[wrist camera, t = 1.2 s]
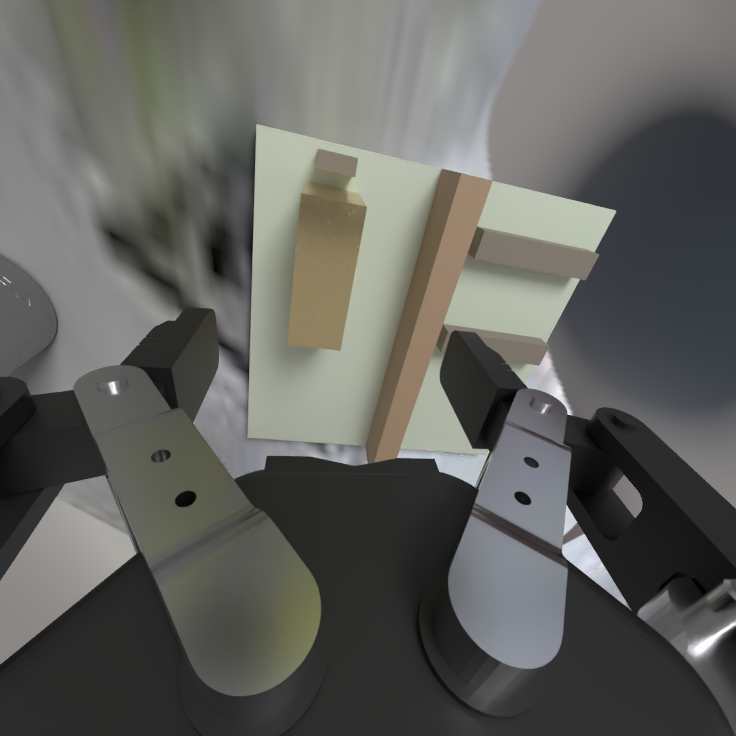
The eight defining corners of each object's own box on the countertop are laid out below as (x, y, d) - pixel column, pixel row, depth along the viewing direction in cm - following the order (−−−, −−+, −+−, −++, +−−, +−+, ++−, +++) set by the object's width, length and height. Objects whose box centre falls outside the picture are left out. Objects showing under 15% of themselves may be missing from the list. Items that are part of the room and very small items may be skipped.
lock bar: (337, 313, 28) (340, 350, 23) (294, 307, 28) (286, 344, 23) (358, 192, 24) (367, 206, 19) (306, 181, 23) (300, 192, 18)
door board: (482, 448, 40) (500, 483, 36) (249, 430, 35) (239, 469, 31) (607, 208, 27) (659, 221, 23) (259, 124, 22) (243, 120, 18)
